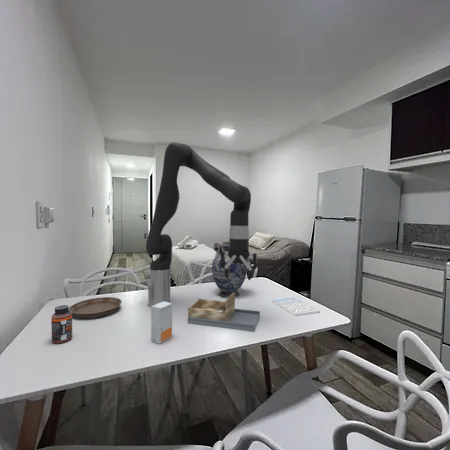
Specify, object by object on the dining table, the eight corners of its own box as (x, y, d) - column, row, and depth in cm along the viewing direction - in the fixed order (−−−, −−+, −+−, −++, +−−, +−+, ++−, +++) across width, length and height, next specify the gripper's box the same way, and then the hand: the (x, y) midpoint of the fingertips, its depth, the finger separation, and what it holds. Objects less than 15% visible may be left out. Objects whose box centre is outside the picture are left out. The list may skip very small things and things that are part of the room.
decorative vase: (202, 295, 137) (203, 242, 136) (222, 287, 152) (223, 240, 151) (236, 303, 125) (237, 245, 124) (254, 294, 140) (256, 242, 139)
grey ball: (215, 318, 101) (215, 311, 101) (217, 315, 104) (217, 308, 104) (223, 319, 100) (223, 311, 100) (225, 316, 103) (225, 309, 103)
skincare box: (159, 344, 84) (159, 308, 84) (150, 341, 87) (150, 305, 86) (172, 337, 89) (172, 303, 89) (163, 334, 92) (163, 300, 91)
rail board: (187, 323, 101) (187, 317, 101) (201, 309, 116) (201, 305, 115) (253, 331, 94) (253, 325, 94) (259, 316, 108) (259, 311, 108)
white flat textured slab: (294, 317, 108) (294, 313, 108) (271, 302, 127) (271, 298, 127) (320, 313, 113) (321, 309, 113) (294, 299, 132) (294, 296, 131)
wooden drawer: (188, 318, 103) (188, 297, 102) (199, 308, 114) (199, 288, 114) (227, 323, 98) (227, 300, 98) (234, 311, 110) (234, 291, 109)
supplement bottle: (69, 343, 85) (69, 309, 85) (48, 345, 84) (48, 310, 83) (74, 335, 91) (74, 303, 91) (55, 337, 89) (54, 304, 89)
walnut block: (218, 313, 106) (218, 306, 106) (221, 310, 110) (221, 303, 110) (228, 314, 105) (228, 307, 105) (230, 311, 109) (230, 304, 109)
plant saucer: (64, 324, 100) (63, 315, 100) (73, 306, 120) (73, 299, 120) (121, 317, 108) (121, 309, 108) (121, 301, 127) (121, 295, 127)
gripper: (218, 237, 98) (218, 279, 99) (256, 238, 94) (255, 282, 95) (223, 235, 105) (223, 275, 106) (258, 237, 101) (258, 278, 102)
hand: (238, 278), depth 100 cm, fingers open, 8 cm apart
